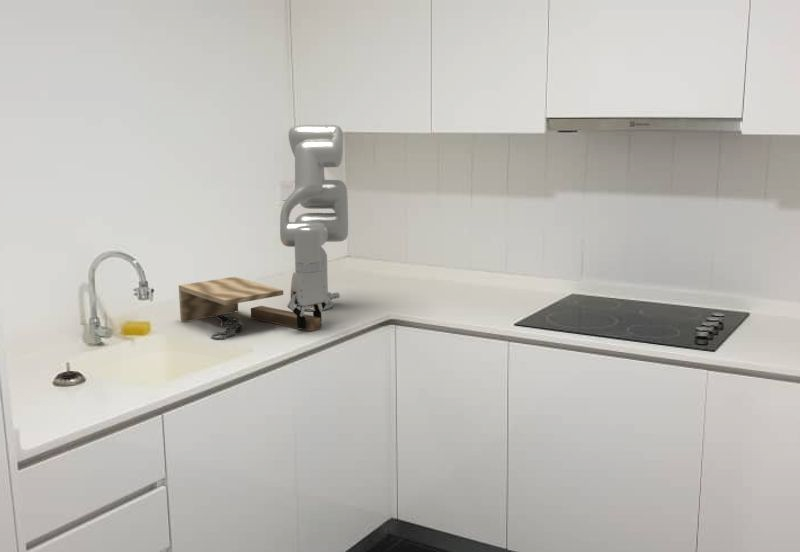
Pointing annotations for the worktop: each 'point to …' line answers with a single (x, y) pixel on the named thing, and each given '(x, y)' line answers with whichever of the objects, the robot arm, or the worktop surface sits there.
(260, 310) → the batten
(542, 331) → the worktop surface
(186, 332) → the worktop surface
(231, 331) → the grey crescent piece
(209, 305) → the riser
